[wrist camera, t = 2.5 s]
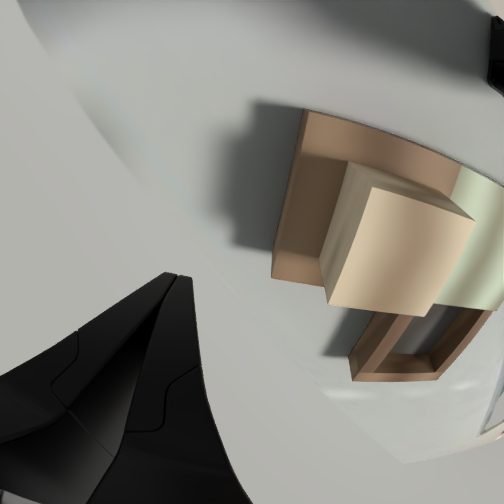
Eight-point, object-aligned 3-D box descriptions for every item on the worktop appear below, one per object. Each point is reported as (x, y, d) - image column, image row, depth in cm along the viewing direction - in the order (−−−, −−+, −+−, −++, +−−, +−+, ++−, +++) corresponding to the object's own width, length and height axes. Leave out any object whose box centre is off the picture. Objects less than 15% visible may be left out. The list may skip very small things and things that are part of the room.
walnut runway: (567, 231, 15) (581, 244, 13) (488, 357, 26) (495, 373, 24) (303, 108, 15) (309, 111, 12) (249, 345, 26) (246, 370, 23)
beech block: (439, 190, 13) (476, 221, 10) (403, 274, 16) (424, 316, 13) (348, 161, 13) (372, 186, 10) (318, 258, 16) (327, 304, 13)
